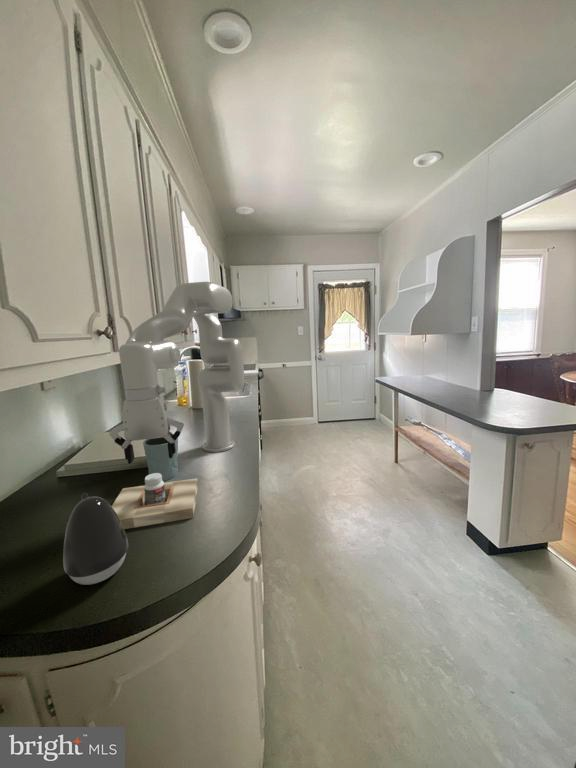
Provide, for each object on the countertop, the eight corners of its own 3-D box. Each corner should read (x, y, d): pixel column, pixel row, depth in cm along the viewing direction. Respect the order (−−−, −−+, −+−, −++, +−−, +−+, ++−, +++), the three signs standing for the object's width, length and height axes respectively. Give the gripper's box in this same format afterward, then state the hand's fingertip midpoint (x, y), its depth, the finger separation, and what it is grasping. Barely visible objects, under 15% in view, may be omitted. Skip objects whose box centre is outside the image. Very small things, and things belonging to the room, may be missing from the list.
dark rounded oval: (122, 545, 64) (112, 479, 62) (137, 571, 57) (127, 497, 54) (63, 572, 57) (49, 499, 55) (72, 606, 50) (57, 523, 47)
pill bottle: (159, 512, 76) (155, 481, 74) (142, 510, 77) (138, 480, 75) (170, 502, 80) (166, 472, 79) (154, 500, 81) (151, 471, 80)
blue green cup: (140, 481, 93) (135, 444, 91) (161, 466, 103) (157, 433, 101) (169, 483, 90) (164, 446, 88) (187, 469, 100) (184, 434, 98)
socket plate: (124, 496, 84) (122, 487, 84) (198, 486, 88) (197, 477, 88) (102, 532, 69) (101, 522, 68) (193, 517, 73) (192, 507, 72)
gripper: (181, 387, 79) (188, 448, 82) (109, 393, 75) (119, 457, 79) (177, 393, 72) (185, 460, 75) (97, 400, 68) (109, 470, 71)
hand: (151, 458), depth 77 cm, fingers open, 9 cm apart
